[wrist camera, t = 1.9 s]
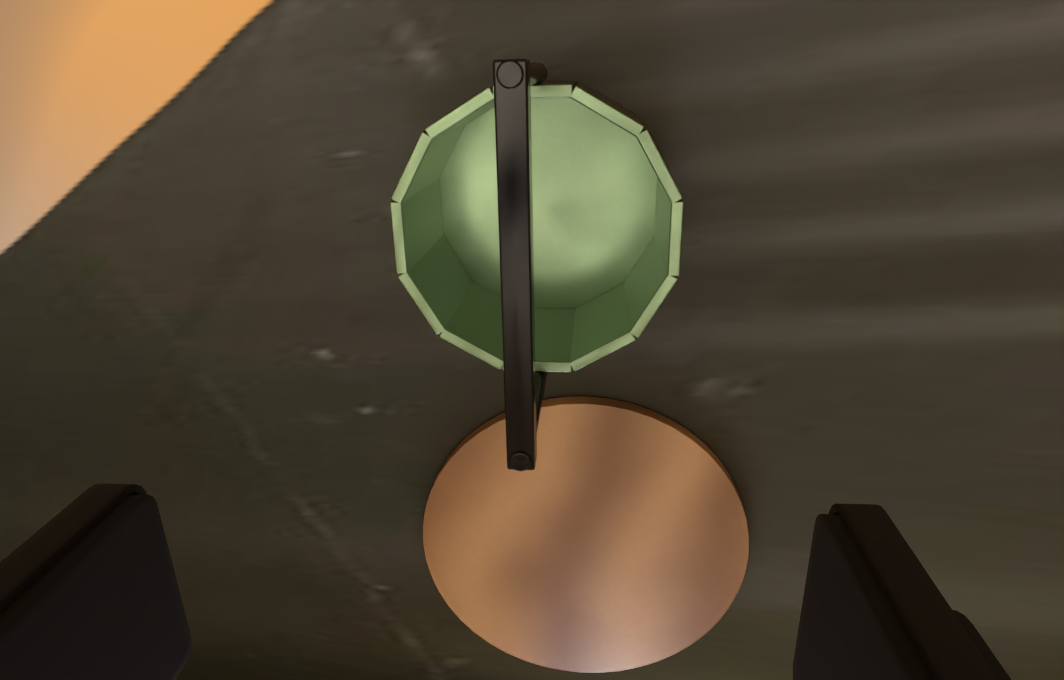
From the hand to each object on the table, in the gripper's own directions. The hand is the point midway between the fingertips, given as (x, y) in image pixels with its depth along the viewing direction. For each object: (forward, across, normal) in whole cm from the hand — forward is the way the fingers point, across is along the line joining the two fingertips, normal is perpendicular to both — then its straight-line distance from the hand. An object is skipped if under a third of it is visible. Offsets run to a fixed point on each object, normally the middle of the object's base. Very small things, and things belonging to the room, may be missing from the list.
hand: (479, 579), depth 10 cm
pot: (+28, 0, 0) cm, 28 cm away
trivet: (+28, -1, +21) cm, 35 cm away
